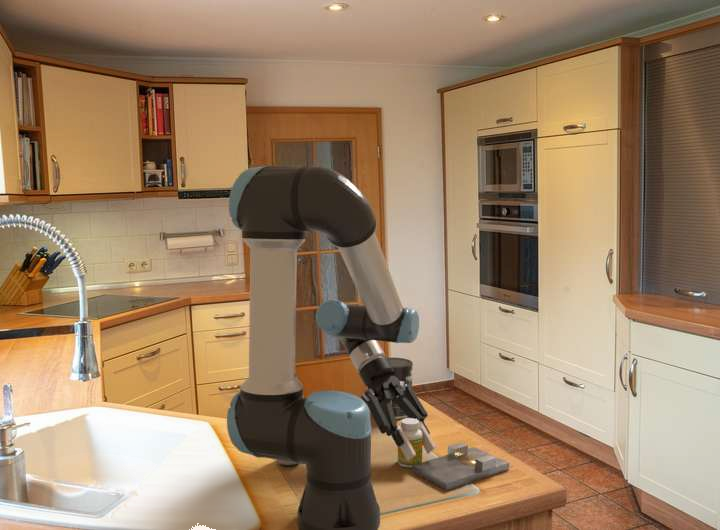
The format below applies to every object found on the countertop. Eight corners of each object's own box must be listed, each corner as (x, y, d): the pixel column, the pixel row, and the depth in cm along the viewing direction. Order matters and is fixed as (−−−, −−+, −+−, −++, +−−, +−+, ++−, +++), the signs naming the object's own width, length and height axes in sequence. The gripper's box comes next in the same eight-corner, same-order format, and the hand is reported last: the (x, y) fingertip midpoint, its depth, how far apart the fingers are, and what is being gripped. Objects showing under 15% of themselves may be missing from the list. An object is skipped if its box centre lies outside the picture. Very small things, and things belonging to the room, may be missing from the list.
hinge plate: (446, 490, 138) (447, 474, 138) (412, 471, 147) (412, 456, 146) (509, 469, 148) (509, 453, 148) (473, 453, 157) (473, 438, 157)
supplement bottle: (415, 470, 148) (415, 427, 147) (393, 465, 151) (393, 422, 149) (426, 461, 152) (426, 419, 151) (404, 456, 155) (405, 415, 154)
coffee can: (414, 408, 189) (414, 358, 187) (409, 420, 178) (410, 368, 177) (377, 405, 191) (377, 356, 189) (370, 418, 181) (370, 366, 179)
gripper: (393, 366, 167) (442, 451, 156) (334, 380, 155) (381, 473, 145) (409, 349, 162) (460, 435, 152) (348, 362, 151) (399, 456, 140)
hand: (421, 453), depth 148 cm, fingers closed on supplement bottle, 5 cm apart
